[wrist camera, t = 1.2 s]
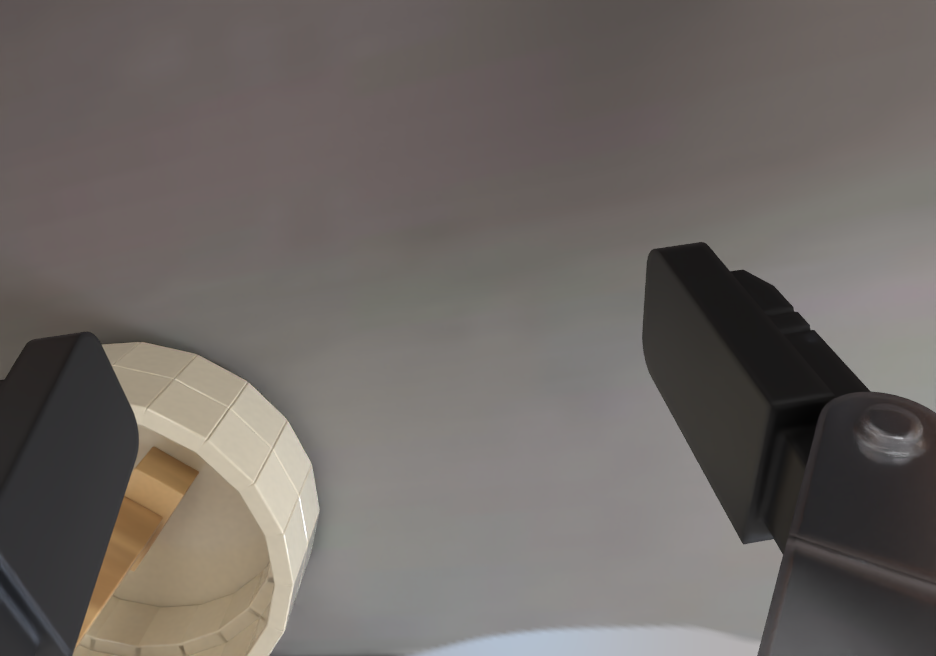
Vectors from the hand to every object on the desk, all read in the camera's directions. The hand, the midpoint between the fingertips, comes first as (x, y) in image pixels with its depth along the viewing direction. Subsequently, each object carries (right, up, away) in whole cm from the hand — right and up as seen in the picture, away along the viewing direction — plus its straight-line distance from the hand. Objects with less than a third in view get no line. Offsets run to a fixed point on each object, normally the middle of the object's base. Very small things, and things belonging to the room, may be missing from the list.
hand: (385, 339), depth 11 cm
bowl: (-14, -8, +24) cm, 29 cm away
